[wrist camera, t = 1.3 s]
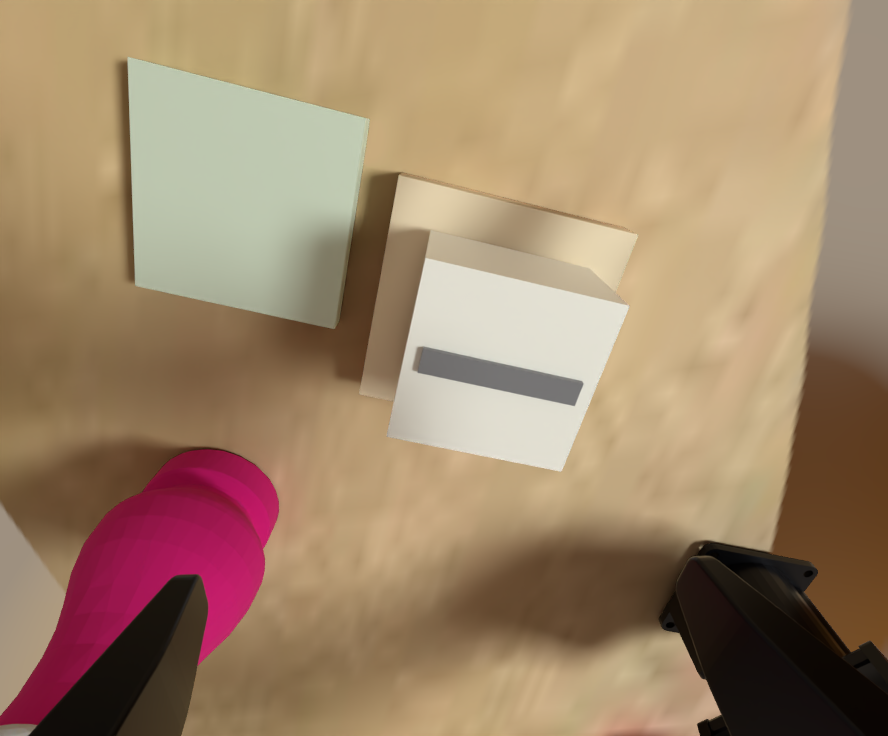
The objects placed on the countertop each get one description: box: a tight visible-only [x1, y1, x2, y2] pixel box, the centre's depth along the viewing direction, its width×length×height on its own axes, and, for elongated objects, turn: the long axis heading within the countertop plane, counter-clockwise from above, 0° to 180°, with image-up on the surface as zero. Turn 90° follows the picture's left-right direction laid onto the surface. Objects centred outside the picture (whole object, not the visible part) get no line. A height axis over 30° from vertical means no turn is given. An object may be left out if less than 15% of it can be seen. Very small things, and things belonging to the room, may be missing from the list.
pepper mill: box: [0, 449, 279, 736], centre depth 16 cm, size 7×7×20 cm
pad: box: [128, 57, 370, 329], centre depth 19 cm, size 8×8×1 cm
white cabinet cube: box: [387, 230, 629, 471], centre depth 17 cm, size 6×6×5 cm
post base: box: [359, 172, 638, 401], centre depth 19 cm, size 9×9×6 cm
